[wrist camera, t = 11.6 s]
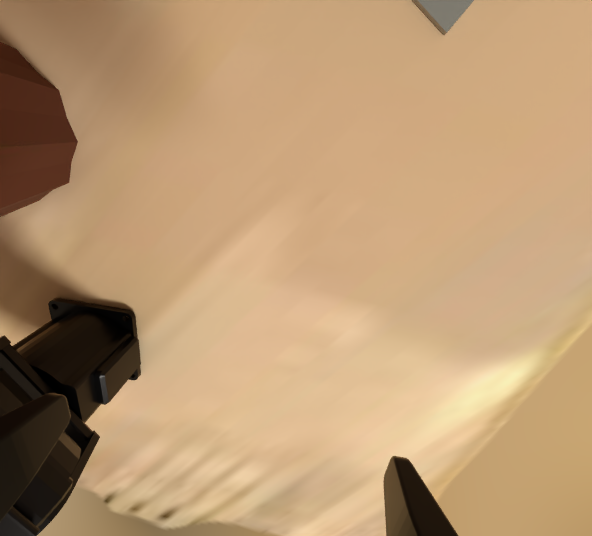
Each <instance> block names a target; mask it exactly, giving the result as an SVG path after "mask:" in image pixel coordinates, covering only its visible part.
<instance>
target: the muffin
mask: <svg viewBox="0 0 592 536" xmlns="http://www.w3.org/2000/svg"><path fill="white" fill-rule="evenodd" d="M77 143H78V141H77V139H76V137H75V135H74V133H73V130H72V128H71V126H70V124H69V121H68V119H67V117H66V113H65V110H64V106H63V103H62V100H61V96H60V93H59V90H58V89H56V88H55V87H54V86H53V85H52V84H50V83H49V82H48V81H47V80H46V79H44V78H43V77H42V76H41V75H40V74H38V73H37V72H36V71H35V70H34V68H33V67H32V66H31V65H30V64H29V63H28V62H27V61H26V60H25V58H24V57H23V56H22V55H21V54H20V53H19V52H18V51H17V50H16V49H14V48H12V47H10V46H8V45H6V44H4V43H2V42H0V217H1V216H3V215H6V214H8V213H10V212H13V211H15V210H18V209H20V208H22V207H25V206H27V205H29V204H32V203H34V202H37V201H39V200H40V199H42V198H43V197H44V196H45V195H47V194H48V193H49V192H50V191H52V190H53V189H56V188H58V187H60V186H62V185H65V184H67V183H69V178H70V169H71V161H72V158H73V155H74V152H75V149H76V146H77Z"/></svg>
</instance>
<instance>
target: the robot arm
mask: <svg viewBox="0 0 592 536" xmlns="http://www.w3.org/2000/svg"><path fill="white" fill-rule="evenodd" d="M49 310H50V314H51V319H52V321H50V322H49V323H47V324H45V325H44V326H42V327H41V328H39V329H38V330H36V331H35V332H33V333H32V334H30V335H29V336H27V337H26V338H24V339H23V340H21V341H20V342H18V343H17V344H15V345H13V346H11V345H10V343H11V342H10V341H9V340H8V339H7V337H6V336H5V335H4V336H2V337H0V536H37V535H38V534H39V533H40V532H41V531H42V530H43V529H44V528H45V527H46V526H47V525H48V524H49V523H50V522H51V521H52V520H53V518H54V517H55V516H56V515H57V514H58V512H59V511H60V510H61V508H62V507H63V505H64V504H65V503H66V501H67V500H68V498H69V496H70V494H71V493H72V491H73V489H74V487H75V485H76V483H77V481H78V479H79V477H80V475H81V473H82V471H83V469H84V467H85V465H86V463H87V461H88V459H89V457H90V456H91V454H92V452H93V450H94V448H95V446H96V444H97V442H98V440H99V438H100V436H99V435H98V434H97V433H96V432H95V431H92V430H91V429H90V428H89V427H88V426H87V425H86V424H85V422H86V421H87V420H88V419H89V417H90V416H91V415H92V414H93V413H94V412H95V410H96V409H97V408H98V407H99V406H100V405H101V404H104V405H105V404H107V403H109V402H110V401H111V400H112V398H113V397H114V396H115V395H116V394H117V392H118V391H119V390H120V389H121V387H122V386H123V385H124V384H125V383H126V381H127V380H128V379H129V380H137V378H138V377H139V376H140V375H141V370H140V364H141V361H140V350H139V340H138V338H137V328H136V317H135V314H134V313H133V312H132V311H130V310H125V309H119V308H113V307H107V306H101V305H95V304H89V303H83V302H77V301H71V300H65V299H59V298H55V299H53V300H52V301H50V302H49ZM126 316H127V317H128V318H127V317H126ZM384 500H385V517H386V535H387V536H458V535H457V533H456V531H455V530H454V528H453V527H452V525H451V524H450V522H449V520H448V519H447V518H446V516H445V515H444V513H443V512H442V510H441V508H440V507H439V505H438V503H437V502H436V500H435V499H434V497H433V496H432V494H431V493H430V491H429V490H428V488H427V486H426V485H425V483H424V482H423V480H422V479H421V477H420V476H419V474H418V473H417V471H416V469H415V468H414V466H413V465H412V463H411V462H410V461H409V460H408V459H407V458H403V457H398V456H393V457H391V459H390V462H389V465H388V467H387V470H386V472H385V475H384Z"/></svg>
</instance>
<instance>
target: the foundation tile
mask: <svg viewBox="0 0 592 536" xmlns="http://www.w3.org/2000/svg"><path fill="white" fill-rule="evenodd" d="M412 1H413V2H414V3H415V4H416V5H417V6H418V7H419V9H420V10H421V11H422V12H423V13H424V14H425V15H426V16H427V17H428V18H429V20H430V21H431V22H432V23H433V24H434V25H435V26H436V27H437V28H438V29H439V31H440V32H441V33H442V34H443V35H445V34H446V33H447V32H448V31H449V29H450V28H451V27H452V26H453V25H454V23H455V22H456V21H457V20H458V19H459V18H460V16H461V15H462V14H463V13H464V12H465V10H466V9H467V8H468V7H469V6H470V4H471V3H472V2H473V1H474V0H412Z"/></svg>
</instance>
